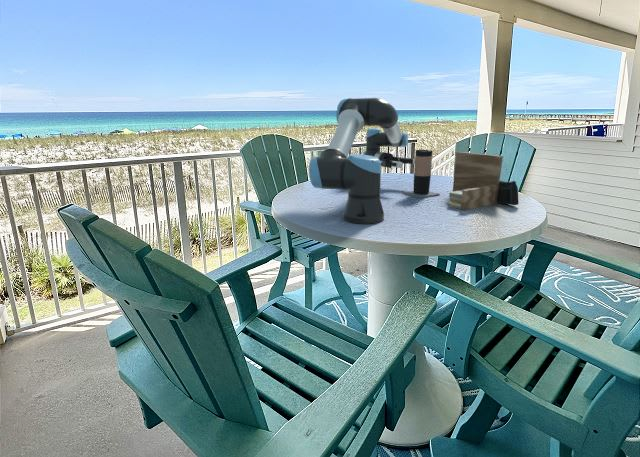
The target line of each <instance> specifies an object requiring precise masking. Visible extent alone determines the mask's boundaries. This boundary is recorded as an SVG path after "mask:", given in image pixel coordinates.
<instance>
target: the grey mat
mask: <svg viewBox="0 0 640 457" xmlns="http://www.w3.org/2000/svg"><path fill="white" fill-rule="evenodd" d="M402 194H403V195H406V196H411V197H415V198H419V199H424V198H430V197H436V196H440V195H441V193H437V192H433V191H430V190H429V194H424V195H421V194H415V193H414V190H411V191H410V190H409V191H403V192H402Z"/></svg>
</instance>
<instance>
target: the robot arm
mask: <svg viewBox="0 0 640 457" xmlns="http://www.w3.org/2000/svg"><path fill="white" fill-rule="evenodd" d="M335 117H336V122H337V124H338V125H337V128H336V129H335V131H334V134H333V136H332V137H331V140H330V142H329V144H328V146H327V148H326V149H324V150H322V151H321V152H320V154H319V156H312V157H311V158H310V160H309V165H308V176H309V180H310V184H311V185H312V187H314V188H316V189H322V190H339V191H341V190H344V191H347V195H348V196H347V201H346V203H345V208H344V210H343V213H342V214H343V215H342V216H343V220H344V221H346V222H348V223H352V224H359V225H362V224H363V225H370V224H376V223H380V222H382V221H384V220H385V212H384V209H383V204H382V200H381V180H382V177H381V176H382V167H383V168H387V169H392V168H396V169H403V165H405V164H407V165H409V164H410V165H414V166H415V156H414V157H401V156H398V157H397V156H394V155H393V154H392V153H391V152H384V151H381V148H382V147H389V148H401V147H402V148H405V147H407V146H408V142H409V133H408V132H404V131H402V129H401V126H400V125H399V124H400V123H399V121H398V120H399V114H398V112H397V110H396V108H395V107H394V106H393V105H392V104H391V103H390V102H389V101H386V100H384V99H381V98H377V97H371V98H370V97H368V98H367V97H365V98H363V97H362V98H351V97H349V98H344V99H342V100H340V101H339V102H338V104H337V108H336V113H335ZM365 126H366V127H369V126H370V127H371V126H374V127H375V126H376V127H380V128H374V127H373V128H368V129H366V140H365V143H366V144H365V145H366V147H365V151H363V153H362V154H361V153H351V154H350V151H351V148H352V147H353V144H354V141H355V139H356V137H357V134H358V133H359V132H361V131H362V130H363V129H364V127H365ZM381 128H382V129H383V131H381Z"/></svg>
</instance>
